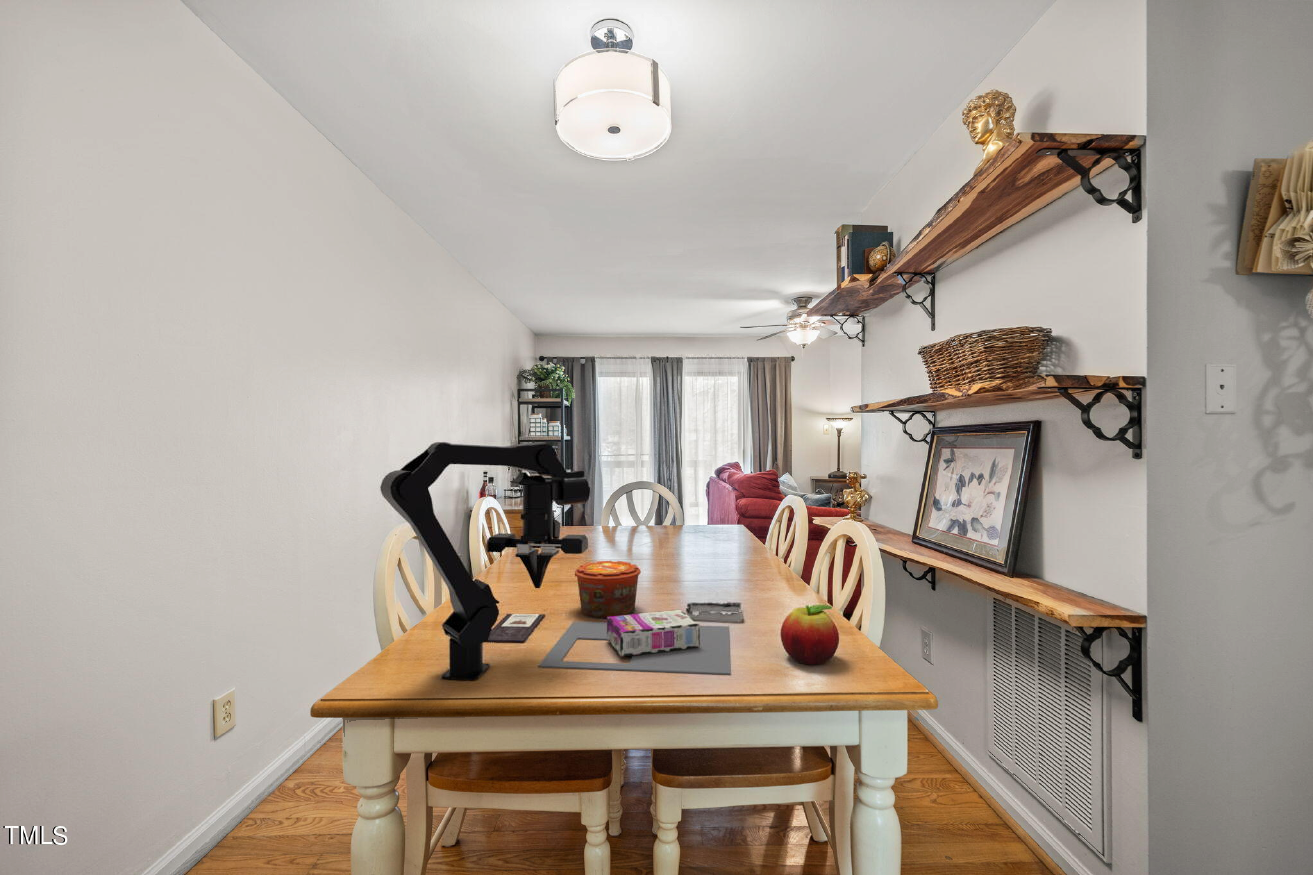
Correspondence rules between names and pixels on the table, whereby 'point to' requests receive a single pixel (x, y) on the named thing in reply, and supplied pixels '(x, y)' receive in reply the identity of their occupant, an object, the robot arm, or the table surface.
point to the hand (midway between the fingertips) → (537, 587)
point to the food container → (607, 588)
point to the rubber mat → (693, 660)
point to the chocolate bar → (515, 628)
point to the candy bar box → (652, 632)
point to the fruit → (810, 635)
